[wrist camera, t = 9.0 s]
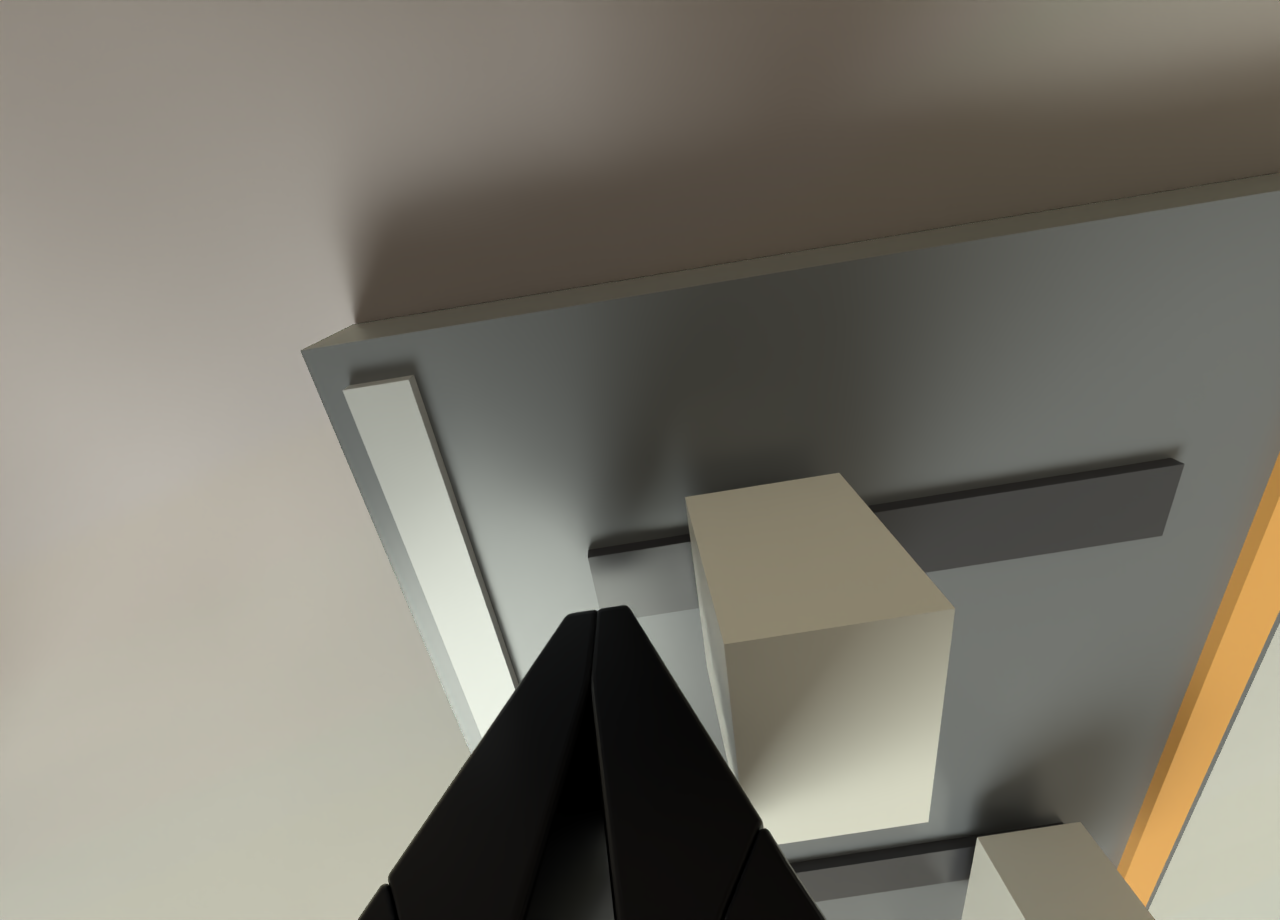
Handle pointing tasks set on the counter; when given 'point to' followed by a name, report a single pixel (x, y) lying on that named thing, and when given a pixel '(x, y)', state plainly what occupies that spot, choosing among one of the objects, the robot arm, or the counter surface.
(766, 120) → the counter surface
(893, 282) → the switch panel
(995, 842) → the switch middle
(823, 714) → the switch
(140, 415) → the counter surface
